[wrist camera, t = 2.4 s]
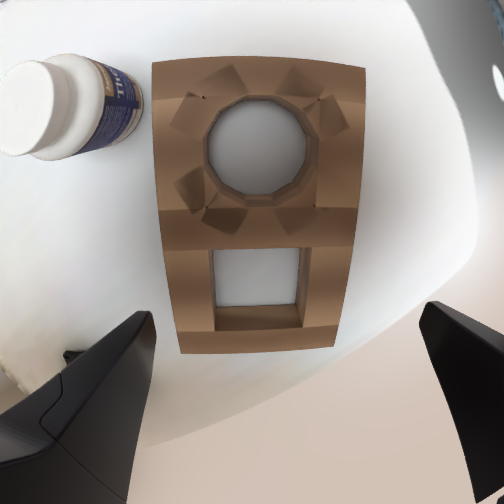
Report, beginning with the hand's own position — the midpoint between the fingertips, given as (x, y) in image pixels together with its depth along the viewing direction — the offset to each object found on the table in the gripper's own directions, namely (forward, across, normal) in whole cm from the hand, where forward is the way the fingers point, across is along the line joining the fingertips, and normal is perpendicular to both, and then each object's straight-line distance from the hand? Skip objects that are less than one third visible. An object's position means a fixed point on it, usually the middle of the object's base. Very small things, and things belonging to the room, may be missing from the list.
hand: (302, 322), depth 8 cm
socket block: (+12, 0, +1) cm, 12 cm away
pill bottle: (+13, +11, -7) cm, 18 cm away
